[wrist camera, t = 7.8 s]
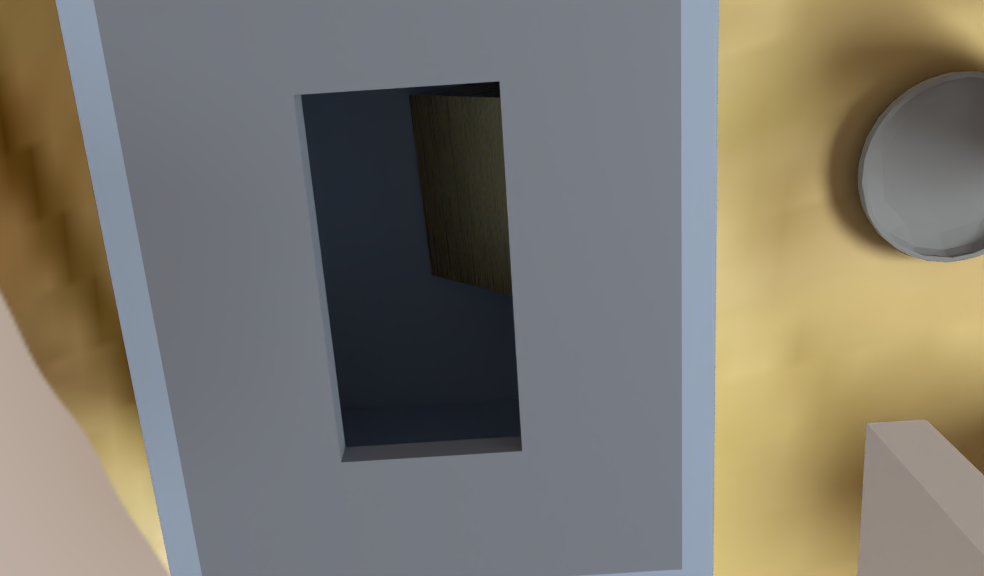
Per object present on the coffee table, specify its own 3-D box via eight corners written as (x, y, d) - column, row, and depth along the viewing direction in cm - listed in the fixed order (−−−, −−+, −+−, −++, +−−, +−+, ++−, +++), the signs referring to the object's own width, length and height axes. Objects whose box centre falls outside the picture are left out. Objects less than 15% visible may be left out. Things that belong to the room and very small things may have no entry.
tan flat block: (486, 255, 33) (643, 289, 28) (431, 275, 32) (586, 313, 27) (467, 83, 31) (632, 85, 26) (408, 94, 30) (570, 99, 25)
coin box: (640, 399, 36) (712, 593, 25) (276, 421, 36) (181, 625, 25) (631, -109, 30) (720, -162, 19) (200, -79, 31) (32, -113, 19)
